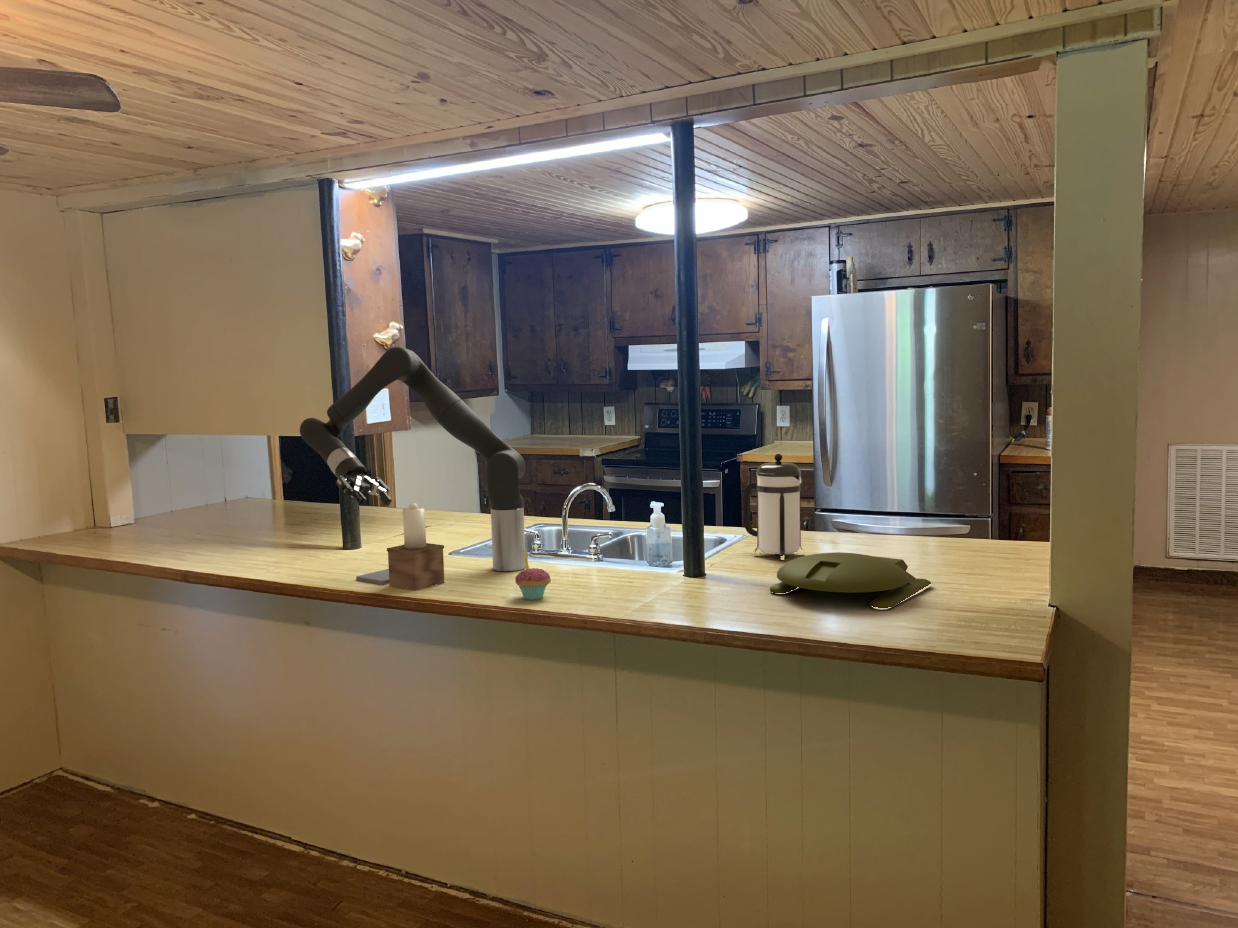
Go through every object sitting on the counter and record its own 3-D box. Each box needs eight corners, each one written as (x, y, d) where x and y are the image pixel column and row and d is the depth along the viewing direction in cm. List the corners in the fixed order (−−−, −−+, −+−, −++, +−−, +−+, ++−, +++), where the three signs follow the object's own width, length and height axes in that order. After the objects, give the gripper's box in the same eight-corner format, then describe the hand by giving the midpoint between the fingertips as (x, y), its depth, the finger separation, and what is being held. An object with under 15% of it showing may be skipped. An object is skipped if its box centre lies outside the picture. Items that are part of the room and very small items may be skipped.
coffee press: (801, 550, 269) (801, 451, 266) (807, 561, 253) (807, 455, 250) (743, 550, 270) (742, 451, 268) (745, 561, 255) (744, 456, 252)
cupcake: (518, 602, 213) (517, 553, 212) (513, 594, 221) (511, 547, 220) (554, 599, 216) (552, 550, 214) (547, 591, 224) (546, 544, 223)
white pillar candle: (416, 544, 238) (414, 500, 237) (430, 545, 235) (428, 502, 234) (399, 547, 234) (397, 503, 233) (414, 549, 230) (412, 505, 229)
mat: (391, 571, 252) (390, 568, 252) (417, 575, 245) (417, 572, 245) (356, 579, 242) (356, 576, 242) (383, 584, 236) (383, 580, 235)
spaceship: (820, 573, 239) (820, 537, 238) (935, 588, 220) (935, 549, 219) (752, 600, 212) (752, 559, 211) (876, 620, 193) (877, 575, 192)
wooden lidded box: (418, 578, 242) (416, 541, 242) (445, 582, 236) (444, 545, 236) (388, 585, 234) (386, 548, 233) (415, 590, 228) (413, 551, 227)
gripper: (331, 455, 241) (361, 491, 233) (372, 457, 253) (403, 492, 245) (319, 477, 244) (349, 514, 236) (361, 478, 255) (391, 513, 248)
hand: (377, 503), depth 241 cm, fingers open, 8 cm apart
